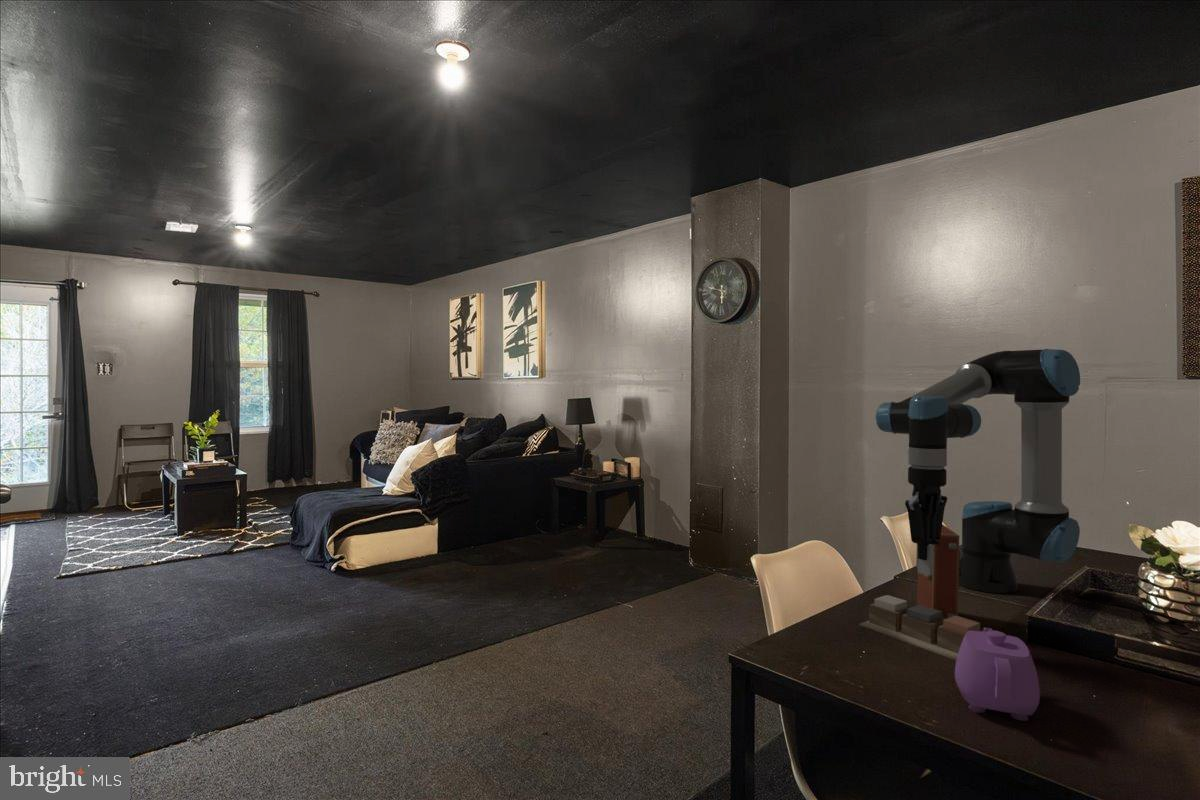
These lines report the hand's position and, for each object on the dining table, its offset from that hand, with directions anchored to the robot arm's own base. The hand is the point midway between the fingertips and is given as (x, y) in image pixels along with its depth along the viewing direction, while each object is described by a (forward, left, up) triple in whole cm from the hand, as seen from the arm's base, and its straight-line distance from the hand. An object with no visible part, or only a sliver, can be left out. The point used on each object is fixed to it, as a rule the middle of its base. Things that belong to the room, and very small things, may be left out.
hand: (925, 573), depth 141 cm
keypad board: (0, 0, -14) cm, 14 cm away
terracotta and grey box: (-14, -5, -14) cm, 21 cm away
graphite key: (0, 0, -12) cm, 12 cm away
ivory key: (0, -8, -12) cm, 15 cm away
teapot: (+18, +23, -14) cm, 33 cm away
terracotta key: (0, +8, -12) cm, 15 cm away
